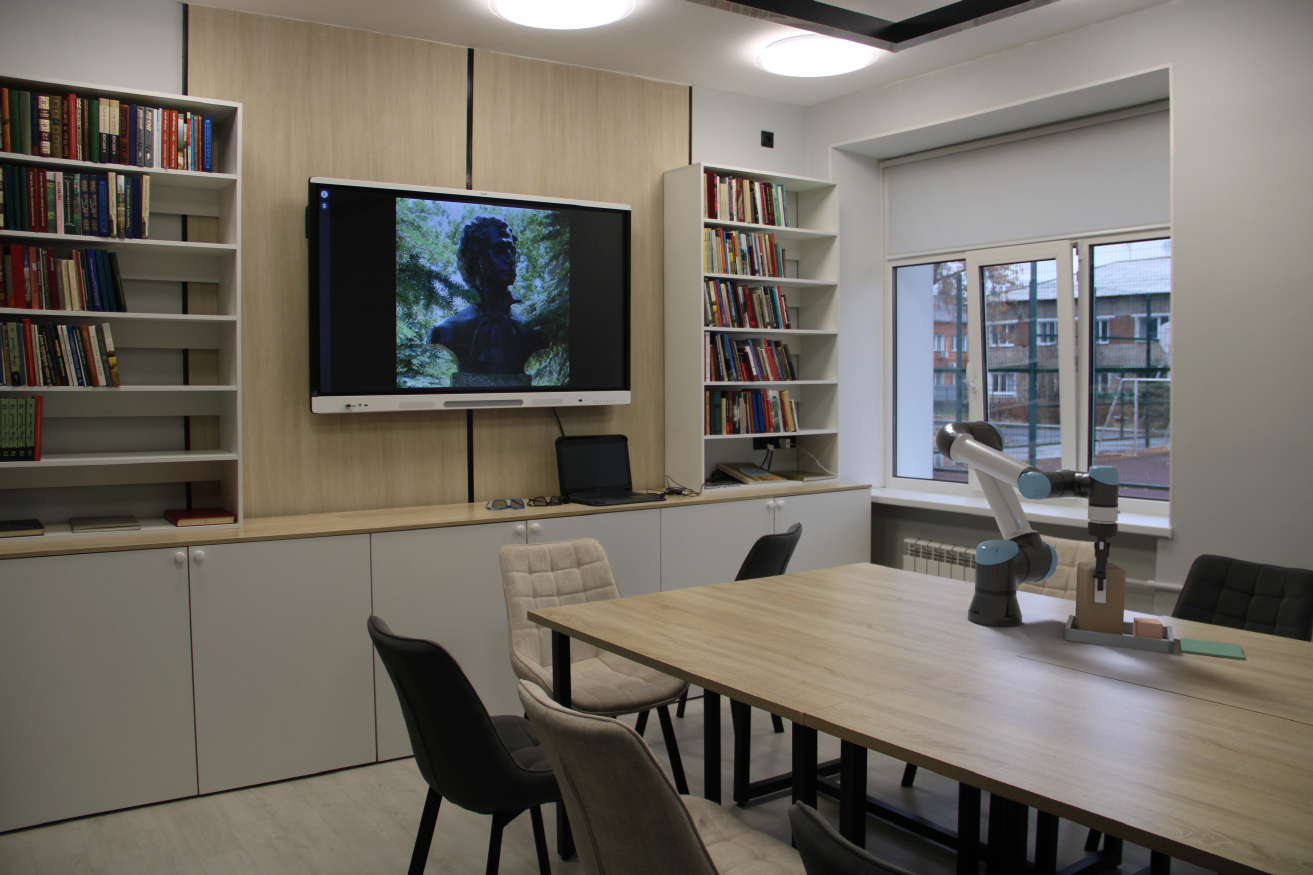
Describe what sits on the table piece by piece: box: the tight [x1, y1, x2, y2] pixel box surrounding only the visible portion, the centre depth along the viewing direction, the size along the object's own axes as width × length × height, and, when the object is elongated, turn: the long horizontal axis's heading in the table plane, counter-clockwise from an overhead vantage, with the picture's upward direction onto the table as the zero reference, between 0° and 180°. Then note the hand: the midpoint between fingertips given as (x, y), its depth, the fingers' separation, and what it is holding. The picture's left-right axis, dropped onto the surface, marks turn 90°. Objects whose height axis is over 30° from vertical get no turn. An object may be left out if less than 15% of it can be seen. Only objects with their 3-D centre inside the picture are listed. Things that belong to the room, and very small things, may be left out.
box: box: [1132, 616, 1164, 640], centre depth 255 cm, size 6×6×6 cm
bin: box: [1063, 614, 1175, 654], centre depth 259 cm, size 26×18×3 cm
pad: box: [1179, 637, 1245, 661], centre depth 249 cm, size 14×14×1 cm
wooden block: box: [1074, 561, 1126, 635], centre depth 261 cm, size 10×10×20 cm
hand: (1100, 597), depth 260 cm, fingers open, 13 cm apart
